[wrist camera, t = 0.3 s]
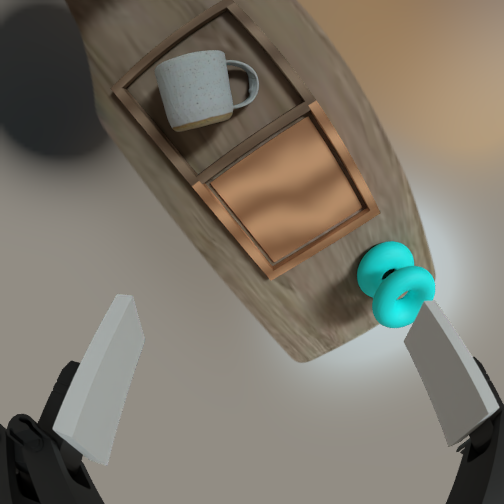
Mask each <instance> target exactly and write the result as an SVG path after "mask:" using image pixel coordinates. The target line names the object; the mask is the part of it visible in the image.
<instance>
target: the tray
mask: <svg viewBox="0 0 504 504" xmlns="http://www.w3.org/2000/svg"><path fill="white" fill-rule="evenodd" d="M227 10H228V11H229V12H230V13H231V15H232V16H233V17H234V18H235V19H236V20H237V21H238V22H239V23H240V24H241V25H242V26H243V27H244V28H245V29H246V30H247V32H248V33H249V34H250V35H251V36H252V37H253V38H254V39H255V41H256V42H257V43H258V44H259V45H260V46H261V48H262V49H263V50H264V51H265V52H266V53H267V55H268V56H269V57H270V58H271V60H272V61H273V62H274V63H275V64H276V66H277V67H278V68H279V70H280V71H281V72H282V73H283V75H284V76H285V77H286V79H287V80H288V81H289V83H290V84H291V85H292V87H293V88H294V89H295V91H296V92H297V93H298V95H299V96H300V98H301V99H302V100H303V102H302V103H301V104H299V105H297V106H296V107H294V108H293V109H291V110H289V111H288V112H286V113H285V114H283V115H281V116H280V117H278V118H277V119H275V120H274V121H272V122H271V123H269V124H268V125H266V126H265V127H263V128H262V129H260V130H259V131H257V132H256V133H254V134H253V135H251V136H250V137H249V138H247V139H246V140H244V141H243V142H241V143H240V144H239V145H237V146H236V147H234V148H233V149H232V150H230V151H229V152H228V153H226V154H225V155H223V156H222V157H221V158H219V159H218V160H217V161H215V162H214V163H213V164H211V165H210V166H209V167H208V168H206V169H205V170H204V171H202V172H201V173H200V174H197V173H196V172H195V171H194V170H193V168H192V167H191V166H190V165H189V164H188V162H187V161H186V160H185V159H184V158H183V156H182V155H181V154H180V153H179V151H178V150H177V149H176V148H175V147H174V145H173V144H172V143H171V142H170V141H169V139H168V138H167V137H166V136H165V135H164V133H163V132H162V131H161V130H160V129H159V127H158V126H157V125H156V124H155V123H154V121H153V120H152V119H151V118H150V117H149V115H148V114H147V113H146V112H145V111H144V109H143V108H142V107H141V106H140V105H139V103H138V102H137V101H136V100H135V99H134V97H133V96H132V95H131V94H130V93H129V91H128V90H127V89H126V88H127V87H128V86H129V85H130V84H131V83H132V82H133V81H134V80H135V79H136V78H137V77H138V76H139V75H140V74H142V73H143V72H144V71H145V70H146V69H147V68H148V67H149V66H151V65H152V64H153V63H154V62H155V61H156V60H158V59H159V58H160V57H161V56H163V55H164V54H165V53H166V52H167V51H169V50H170V49H171V48H173V47H174V46H175V45H176V44H178V43H179V42H180V41H182V40H183V39H184V38H186V37H187V36H189V35H190V34H191V33H193V32H194V31H196V30H197V29H199V28H200V27H202V26H203V25H205V24H206V23H208V22H209V21H211V20H212V19H214V18H215V17H217V16H219V15H220V14H222V13H224V12H225V11H227ZM111 90H112V91H113V92H114V93H115V95H116V96H117V97H118V98H119V99H120V101H121V102H122V103H123V104H124V105H125V107H126V108H127V109H128V110H129V111H130V113H131V114H132V115H133V116H134V118H135V119H136V120H137V121H138V122H139V124H140V125H141V126H142V127H143V128H144V130H145V131H146V132H147V133H148V134H149V136H150V137H151V138H152V139H153V140H154V142H155V143H156V144H157V145H158V146H159V148H160V149H161V150H162V151H163V152H164V154H165V155H166V156H167V157H168V158H169V160H170V161H171V162H172V163H173V164H174V166H175V167H176V168H177V169H178V170H179V172H180V173H181V174H182V175H183V176H184V178H185V179H186V180H187V181H188V182H189V184H190V185H191V186H192V187H193V188H194V190H195V191H196V192H197V193H198V194H199V196H200V197H201V198H202V199H203V200H204V202H205V203H206V204H207V205H208V206H209V208H210V209H211V210H212V211H213V212H214V214H215V215H216V216H217V217H218V218H219V220H220V221H221V222H222V223H223V224H224V225H225V227H226V228H227V229H228V230H229V231H230V233H231V234H232V235H233V236H234V237H235V239H236V240H237V241H238V242H239V243H240V245H241V246H242V247H243V248H244V249H245V250H246V252H247V253H248V254H249V255H250V256H251V258H252V259H253V260H254V261H255V262H256V264H257V265H258V266H259V267H260V268H261V270H262V271H263V272H264V273H265V274H266V275H267V277H268V278H269V279H270V280H273V279H274V278H276V277H278V276H280V275H281V274H283V273H285V272H286V271H288V270H290V269H291V268H293V267H295V266H296V265H298V264H300V263H301V262H303V261H305V260H306V259H308V258H310V257H311V256H313V255H315V254H316V253H318V252H319V251H321V250H323V249H324V248H326V247H328V246H329V245H331V244H333V243H334V242H336V241H337V240H339V239H341V238H342V237H344V236H345V235H347V234H349V233H350V232H352V231H353V230H355V229H356V228H358V227H360V226H361V225H363V224H364V223H366V222H367V221H369V220H371V219H372V218H374V217H375V216H377V215H378V214H380V211H379V209H378V207H377V205H376V203H375V201H374V198H373V196H372V194H371V192H370V190H369V188H368V187H367V185H366V183H365V181H364V179H363V177H362V175H361V173H360V171H359V169H358V168H357V166H356V164H355V162H354V160H353V159H352V157H351V155H350V153H349V152H348V150H347V148H346V146H345V145H344V143H343V141H342V140H341V138H340V136H339V135H338V133H337V132H336V130H335V128H334V127H333V125H332V124H331V122H330V120H329V119H328V117H327V116H326V114H325V113H324V111H323V110H322V108H321V107H320V105H319V104H318V102H317V101H316V99H315V98H314V96H313V95H312V94H311V92H310V91H309V89H308V88H307V87H306V85H305V84H304V82H303V81H302V80H301V78H300V77H299V76H298V74H297V73H296V72H295V70H294V69H293V68H292V66H291V65H290V64H289V63H288V61H287V60H286V59H285V58H284V56H283V55H282V54H281V53H280V51H279V50H278V49H277V48H276V46H275V45H274V44H273V43H272V42H271V41H270V39H269V38H268V37H267V36H266V35H265V34H264V33H263V31H262V30H261V29H260V28H259V27H258V26H257V25H256V24H255V23H254V21H253V20H252V19H251V18H250V17H249V16H248V15H247V14H246V13H245V12H244V11H243V10H242V9H241V8H240V7H239V6H238V5H237V4H236V3H235V2H234V1H233V0H222V1H220V2H219V3H217V4H215V5H214V6H212V7H210V8H209V9H207V10H206V11H204V12H203V13H201V14H199V15H198V16H196V17H195V18H193V19H192V20H191V21H189V22H188V23H186V24H185V25H183V26H182V27H181V28H179V29H178V30H177V31H175V32H174V33H173V34H171V35H170V36H169V37H167V38H166V39H165V40H163V41H162V42H161V43H160V44H158V45H157V46H156V47H155V48H154V49H152V50H151V51H150V52H149V53H148V54H147V55H145V56H144V57H143V58H142V59H141V60H140V61H139V62H137V63H136V64H135V65H134V66H133V67H132V68H131V69H130V70H129V71H128V72H127V73H126V74H125V75H124V76H123V77H122V78H121V79H120V80H119V81H118V82H117V83H116V84H115V85H114V86H113V87H112V88H111ZM308 111H310V112H311V113H312V115H313V116H314V118H315V119H316V121H317V122H318V124H319V125H320V127H321V128H322V130H323V131H324V133H325V135H326V136H327V138H328V139H329V141H330V143H331V144H332V146H333V147H334V149H335V151H336V152H337V154H338V156H339V157H340V159H341V161H342V162H343V164H344V166H345V168H346V169H347V171H348V173H349V175H350V176H351V178H352V180H353V182H354V184H355V185H356V187H357V189H358V191H359V193H360V195H361V197H362V199H363V201H364V202H365V204H366V206H367V208H366V209H364V210H363V211H361V212H360V213H358V214H356V215H355V216H353V217H352V218H350V219H349V220H347V221H345V222H344V223H342V224H341V225H339V226H337V227H336V228H334V229H333V230H331V231H329V232H328V233H326V234H325V235H323V236H321V237H320V238H318V239H317V240H315V241H313V242H312V243H310V244H309V245H307V246H305V247H304V248H302V249H300V250H299V251H297V252H296V253H294V254H292V255H291V256H289V257H287V258H286V259H284V260H282V261H281V262H279V263H277V264H276V265H274V266H272V265H271V264H270V263H269V261H268V260H267V259H266V258H265V256H264V255H263V254H262V253H261V252H260V250H259V249H258V248H257V247H256V245H255V244H254V243H253V242H252V240H251V239H250V238H249V237H248V236H247V234H246V233H245V232H244V231H243V229H242V228H241V227H240V226H239V224H238V223H237V222H236V221H235V220H234V218H233V217H232V216H231V215H230V213H229V212H228V211H227V210H226V209H225V207H224V206H223V205H222V204H221V202H220V201H219V200H218V199H217V198H216V196H215V195H214V194H213V193H212V192H211V190H210V189H209V188H208V187H207V185H206V184H205V182H206V181H207V180H209V179H210V178H211V177H213V176H214V175H215V174H217V173H218V172H219V171H221V170H222V169H223V168H225V167H226V166H227V165H229V164H230V163H232V162H233V161H234V160H236V159H237V158H239V157H240V156H241V155H243V154H244V153H246V152H247V151H248V150H250V149H251V148H253V147H254V146H256V145H257V144H259V143H260V142H262V141H263V140H265V139H266V138H267V137H269V136H270V135H272V134H273V133H275V132H277V131H278V130H280V129H281V128H283V127H284V126H286V125H287V124H289V123H290V122H292V121H294V120H295V119H297V118H298V117H300V116H302V115H303V114H305V113H306V112H308ZM210 184H211V185H212V186H213V187H214V188H215V190H216V191H217V192H218V193H219V195H220V196H221V197H222V198H223V200H224V201H225V202H226V203H227V204H228V206H229V207H230V208H231V209H232V211H233V212H234V213H235V214H236V216H237V217H238V218H239V219H240V220H241V222H242V223H243V224H244V225H245V227H246V228H247V229H248V230H249V232H250V233H251V234H252V235H253V237H254V238H255V239H256V240H257V242H258V243H259V244H260V245H261V247H262V248H263V249H264V250H265V252H266V253H267V254H268V255H269V257H270V258H271V259H272V260H273V262H276V261H277V260H279V259H281V258H282V257H284V256H286V255H287V254H289V253H290V252H292V251H294V250H295V249H297V248H299V247H300V246H302V245H303V244H305V243H307V242H308V241H310V240H311V239H313V238H315V237H316V236H318V235H320V234H321V233H323V232H324V231H326V230H328V229H329V228H331V227H332V226H334V225H335V224H337V223H339V222H340V221H342V220H343V219H345V218H347V217H348V216H350V215H351V214H353V213H354V212H356V211H358V210H359V209H361V208H362V206H361V204H360V202H359V200H358V198H357V196H356V194H355V192H354V191H353V189H352V187H351V185H350V183H349V182H348V180H347V178H346V176H345V175H344V173H343V171H342V169H341V168H340V166H339V164H338V163H337V161H336V159H335V158H334V156H333V154H332V153H331V151H330V149H329V148H328V146H327V145H326V143H325V141H324V140H323V138H322V137H321V135H320V134H319V132H318V131H317V129H316V128H315V126H314V125H313V123H312V122H311V120H310V119H309V117H308V116H307V117H305V118H304V119H302V120H301V121H299V122H297V123H296V124H294V125H293V126H291V127H290V128H288V129H286V130H285V131H283V132H282V133H280V134H279V135H277V136H276V137H274V138H273V139H271V140H270V141H268V142H267V143H265V144H264V145H262V146H261V147H259V148H258V149H256V150H255V151H254V152H252V153H251V154H249V155H248V156H246V157H245V158H244V159H242V160H241V161H239V162H238V163H237V164H235V165H234V166H232V167H231V168H230V169H228V170H227V171H225V172H224V173H223V174H221V175H220V176H219V177H217V178H216V179H215V180H213V181H212V182H211V183H210Z"/></svg>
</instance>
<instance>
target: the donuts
mask: <svg viewBox="0 0 504 504" xmlns="http://www.w3.org/2000/svg"><path fill="white" fill-rule="evenodd" d="M390 269H395V270H394V272H393V273H391V274H390V275H389V276H387V277H386V278H385V279H382V277H383V275H384V273H385V272H386V271H388V270H390ZM357 281H358V285H359V287H360V289H361V290H362V291H363V292H364V293H365V294H366V295H368V296H370V297H372V298H373V303H372V310H373V314H374V316H375V318H376V320H377V321H378V322H379V323H380V324H381V325H383V326H386V327H389V328H400V327H404V326H407V325H409V324H411V323H413V322H414V321H415V319H416V317H417V315H418V313H419V310H420V308H421V306H422V304H423V302H424V301H433V298H434V295H435V282H434V279H433V277H432V275H431V274H430V273H429V272H428V271H427V270H426V269H424V268H422V267H418V266H414V260H413V256H412V254H411V252H410V250H409V249H408V248H407V247H406V246H405V245H403V244H401V243H399V242H394V241H389V242H384V243H380V244H378V245H376V246H375V247H373V248H372V249H370V250H369V251H368V252H367V253H366V254H365V255H364V257H363V258H362V260H361V262H360V264H359V267H358V271H357ZM408 290H409V291H408ZM406 291H408V293H407V294H406V295H405V296H404V297H403V298H401V299H398V300H397V298H398V297H399V296H400V295H401V294H403V293H404V292H406Z"/></svg>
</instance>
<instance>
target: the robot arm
mask: <svg viewBox="0 0 504 504" xmlns="http://www.w3.org/2000/svg"><path fill="white" fill-rule="evenodd" d="M144 343H145V337H144V334H143V331H142V328H141V324H140V321H139V317H138V313H137V309H136V306H135V302H134V298H133V296H132V295H121V294H117V295H116V297H115V299H114V301H113V302H112V304H111V306H110V308H109V309H108V311H107V313H106V315H105V317H104V318H103V320H102V322H101V324H100V326H99V328H98V330H97V331H96V333H95V335H94V337H93V339H92V341H91V343H90V345H89V347H88V349H87V351H86V353H85V355H84V357H83V359H82V361H81V363H78V362H74V361H70V362H69V363H68V364H67V365H66V366H65V367H64V368H63V369H62V371H61V373H60V375H59V377H58V379H57V383H55V385H54V388H53V391H52V392H51V394H50V396H49V399H48V401H47V403H46V405H45V408H44V410H43V412H42V415H41V417H40V419H39V421H38V423H36V422H35V421H34V420H33V419H32V418H31V417H30V416H28V415H26V414H17V415H16V416H14V417H13V418H12V419H11V420H10V421H9V424H8V427H7V429H5V428H4V427H3V426H2V425H1V424H0V504H104V502H103V500H102V498H101V497H100V495H99V493H98V491H97V489H96V488H95V486H94V484H93V482H92V480H91V478H90V476H89V474H88V472H87V470H86V468H85V466H84V464H83V462H82V461H81V460H82V456H83V455H84V456H85V457H87V458H88V459H89V460H91V461H94V462H97V463H100V464H103V465H106V466H107V465H108V461H109V457H110V453H111V448H112V445H113V441H114V438H115V434H116V430H117V427H118V423H119V419H120V416H121V413H122V409H123V406H124V403H125V399H126V396H127V393H128V390H129V387H130V384H131V381H132V378H133V375H134V371H135V368H136V366H137V362H138V360H139V357H140V354H141V351H142V348H143V346H144ZM404 343H405V345H406V347H407V349H408V351H409V353H410V355H411V357H412V359H413V362H414V364H415V366H416V368H417V370H418V372H419V374H420V377H421V379H422V381H423V383H424V385H425V388H426V390H427V392H428V395H429V397H430V400H431V402H432V404H433V407H434V409H435V412H436V414H437V417H438V419H439V422H440V424H441V427H442V430H443V432H444V435H445V438H446V441H447V444H448V447H450V446H452V445H454V444H456V443H459V442H461V441H462V440H463V439H464V438H466V437H467V436H468V435H469V436H470V438H469V439H468V440H467V441H466V442H464V443H463V444H462V445H460V446H459V447H458V449H457V451H456V452H459V451H460V450H461V449H463V448H464V447H465V449H463V450H462V451H461V452H460V453H462V454H463V457H462V460H461V464H460V467H459V470H458V473H457V476H456V479H455V482H454V485H453V487H452V490H451V492H450V495H449V497H448V500H447V502H446V504H504V404H503V403H502V401H501V399H500V397H499V395H498V393H497V391H496V389H495V387H494V385H493V383H492V382H491V381H490V378H489V376H488V374H486V371H485V369H484V367H483V365H482V364H481V363H480V362H479V361H478V360H477V359H476V358H475V357H472V355H471V354H470V352H469V351H468V349H467V347H466V345H465V344H464V342H463V341H462V339H461V338H460V336H459V335H458V333H457V331H456V330H455V328H454V327H453V325H452V324H451V322H450V321H449V320H448V318H447V317H446V315H445V314H444V312H443V311H442V309H441V308H440V307H439V305H438V304H437V302H436V301H435V300H433V301H424V302H423V304H422V306H421V308H420V310H419V313H418V315H417V317H416V319H415V321H414V323H413V325H412V327H411V328H410V330H409V332H408V334H407V336H406V338H405V340H404Z"/></svg>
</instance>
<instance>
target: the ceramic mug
mask: <svg viewBox="0 0 504 504" xmlns="http://www.w3.org/2000/svg"><path fill="white" fill-rule="evenodd" d="M226 65H233V66H237V67H240V68H242V69H244V70H245V71H246V72H247V75H248V77H249V90H248V91H249V93H250V95H249V97H248V98H247V99H246V100H245V101H244V102H242V103H240V104H237V105H233V101H232V95H231V91H230V85H229V78H228V71H227V66H226ZM155 75H156V78H157V82H158V86H159V90H160V94H161V97H162V100H163V104H164V108H165V112H166V115H167V118H168V121H169V123H170V125H171V127H172V129H173V130H175V131H177V132H181V131H186V130H190V129H194V128H199V127H202V126H206V125H210V124H214V123H218V122H221V121H225V120H228V119H229V118H230V117H231V116H232V114H233V109H236V108H240V107H243V106H246V105H247V104H249V103H251V102H252V101H253V100H254V98H255V97H256V95H257V93H258V89H259V82H258V77H257V74H256V72H255V71H254V69H252V68H251V67H250V66H249V65H247V64H245V63H243V62H239V61H234V60H226V59H225V54H224V52H222V51H217V50H208V51H200V52H194V53H189V54H185V55H181V56H178V57H175V58H173V59H170V60H167V61H165V62H163V63H161V64H159V65H158V66H157V67H156V68H155Z"/></svg>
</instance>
